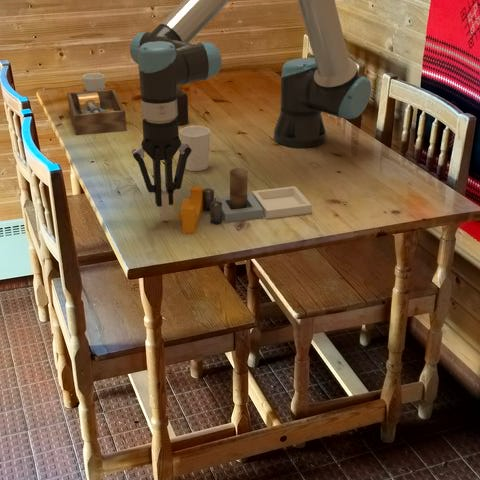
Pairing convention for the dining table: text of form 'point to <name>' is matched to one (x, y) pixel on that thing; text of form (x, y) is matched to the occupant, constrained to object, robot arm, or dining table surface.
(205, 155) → the white cup
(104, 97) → the tool caddy
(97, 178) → the dining table surface
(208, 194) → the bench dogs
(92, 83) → the teacup
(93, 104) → the vise
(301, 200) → the tray
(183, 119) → the coffee grinder
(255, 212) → the jig block
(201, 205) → the pipe clamp
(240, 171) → the dowel
